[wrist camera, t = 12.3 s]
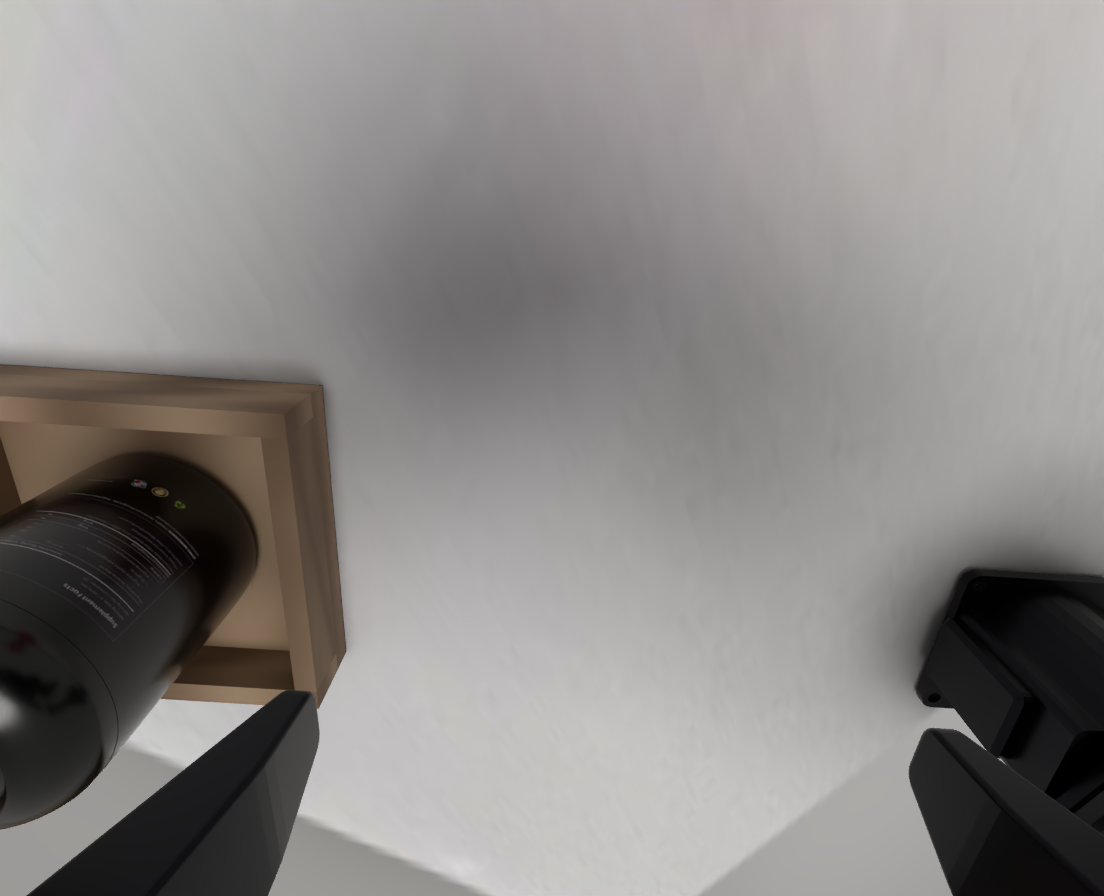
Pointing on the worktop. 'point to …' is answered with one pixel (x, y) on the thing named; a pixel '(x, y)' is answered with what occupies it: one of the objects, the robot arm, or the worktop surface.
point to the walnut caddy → (233, 463)
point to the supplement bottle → (105, 615)
